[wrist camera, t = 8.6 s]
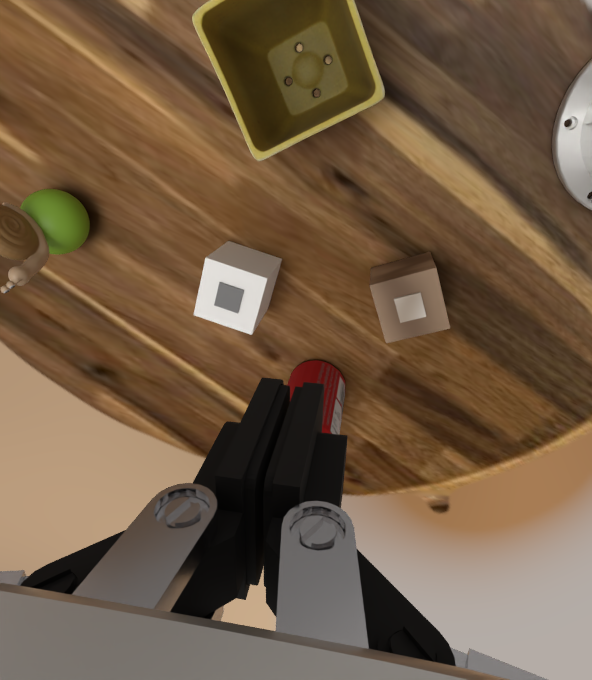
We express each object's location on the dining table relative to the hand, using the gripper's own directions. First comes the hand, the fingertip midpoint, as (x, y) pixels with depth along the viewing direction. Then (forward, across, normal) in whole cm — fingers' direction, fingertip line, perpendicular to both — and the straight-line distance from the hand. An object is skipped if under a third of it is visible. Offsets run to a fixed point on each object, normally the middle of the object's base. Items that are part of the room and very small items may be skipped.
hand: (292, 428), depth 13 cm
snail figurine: (+29, +25, +1) cm, 39 cm away
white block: (+29, +9, +5) cm, 31 cm away
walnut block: (+29, -5, +5) cm, 30 cm away
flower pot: (+29, +4, -11) cm, 32 cm away
